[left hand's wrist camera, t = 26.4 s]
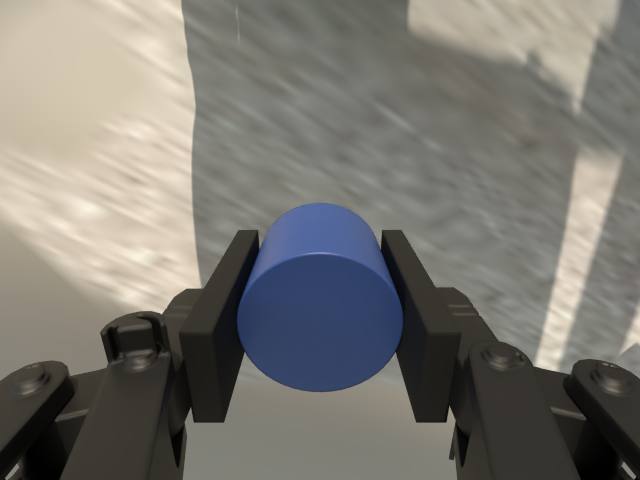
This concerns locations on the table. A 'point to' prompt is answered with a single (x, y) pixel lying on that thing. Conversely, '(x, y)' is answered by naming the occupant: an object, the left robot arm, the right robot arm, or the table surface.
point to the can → (320, 302)
